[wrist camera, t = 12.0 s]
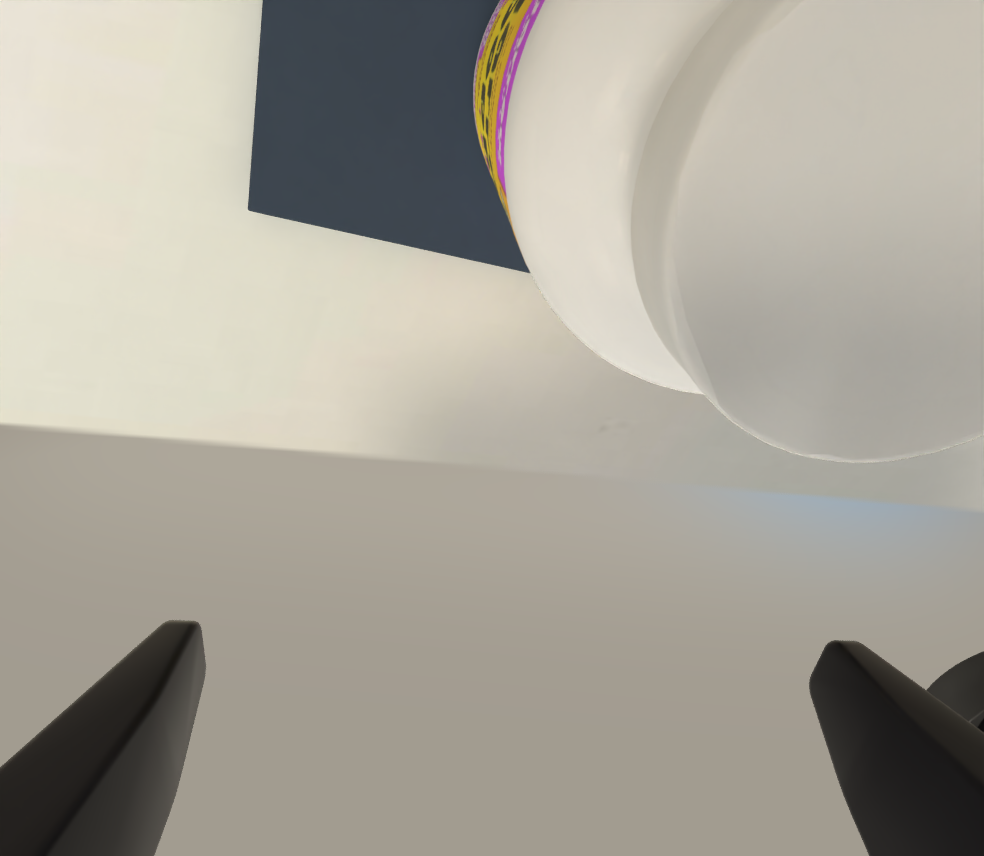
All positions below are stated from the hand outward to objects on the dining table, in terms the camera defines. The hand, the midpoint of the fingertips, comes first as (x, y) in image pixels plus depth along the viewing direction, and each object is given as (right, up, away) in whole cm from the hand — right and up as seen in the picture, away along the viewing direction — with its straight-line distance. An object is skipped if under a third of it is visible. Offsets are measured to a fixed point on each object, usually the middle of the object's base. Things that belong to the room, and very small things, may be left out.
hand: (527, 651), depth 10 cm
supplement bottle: (+2, +11, +7) cm, 14 cm away
